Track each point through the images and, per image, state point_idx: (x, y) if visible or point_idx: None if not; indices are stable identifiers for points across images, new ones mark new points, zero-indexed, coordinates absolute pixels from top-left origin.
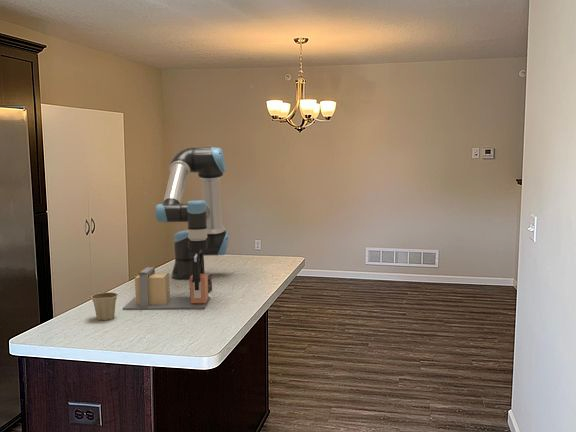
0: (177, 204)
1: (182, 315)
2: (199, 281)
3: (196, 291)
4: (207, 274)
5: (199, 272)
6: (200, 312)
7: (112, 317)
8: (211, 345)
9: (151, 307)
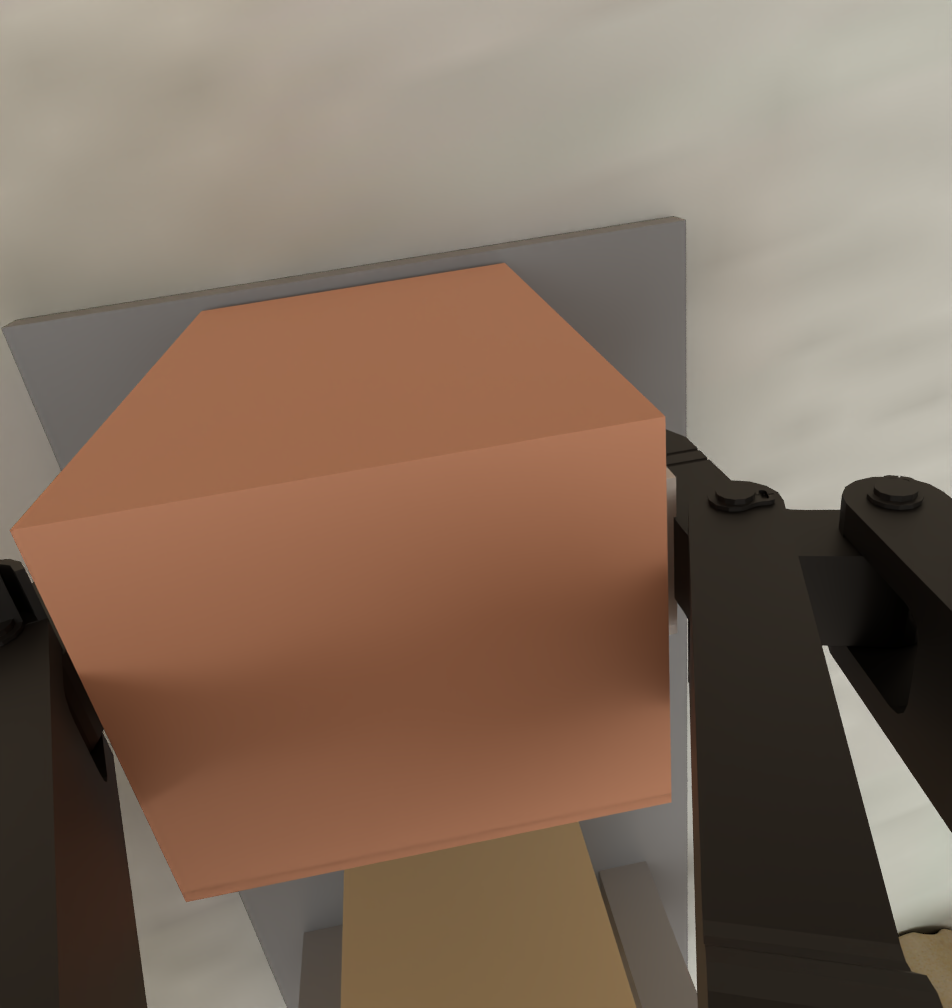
0: None
1: (939, 421)
2: (765, 487)
3: None
4: (28, 514)
5: (825, 664)
6: (833, 224)
7: (948, 936)
8: None
9: (678, 822)
